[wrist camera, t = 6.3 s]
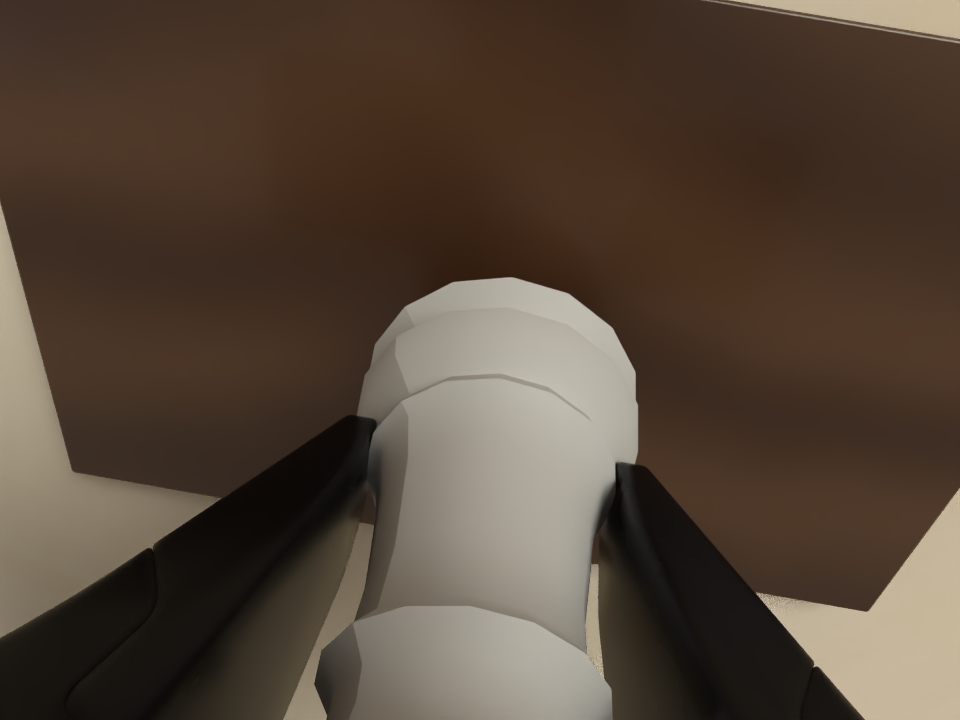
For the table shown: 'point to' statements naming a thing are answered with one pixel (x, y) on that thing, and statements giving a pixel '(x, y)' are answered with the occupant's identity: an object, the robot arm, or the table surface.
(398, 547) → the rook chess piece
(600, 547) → the robot arm
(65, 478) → the table surface
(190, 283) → the walnut board
